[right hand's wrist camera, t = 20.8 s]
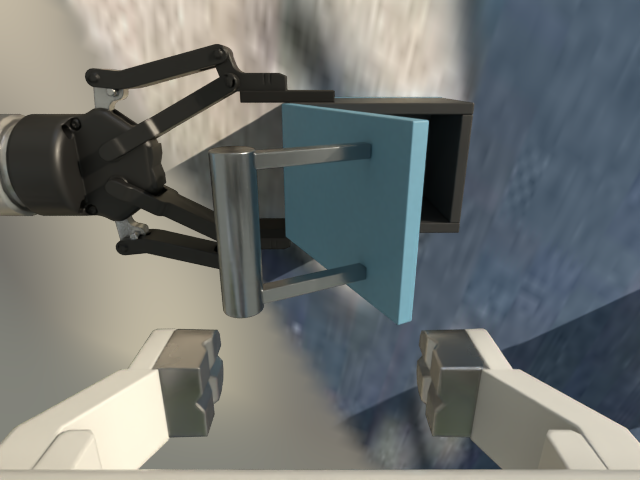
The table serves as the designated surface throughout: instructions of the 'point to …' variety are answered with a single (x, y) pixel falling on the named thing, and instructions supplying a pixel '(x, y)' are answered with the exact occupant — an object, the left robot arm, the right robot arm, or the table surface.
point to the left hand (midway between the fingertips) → (332, 165)
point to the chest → (429, 150)
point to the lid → (326, 208)
